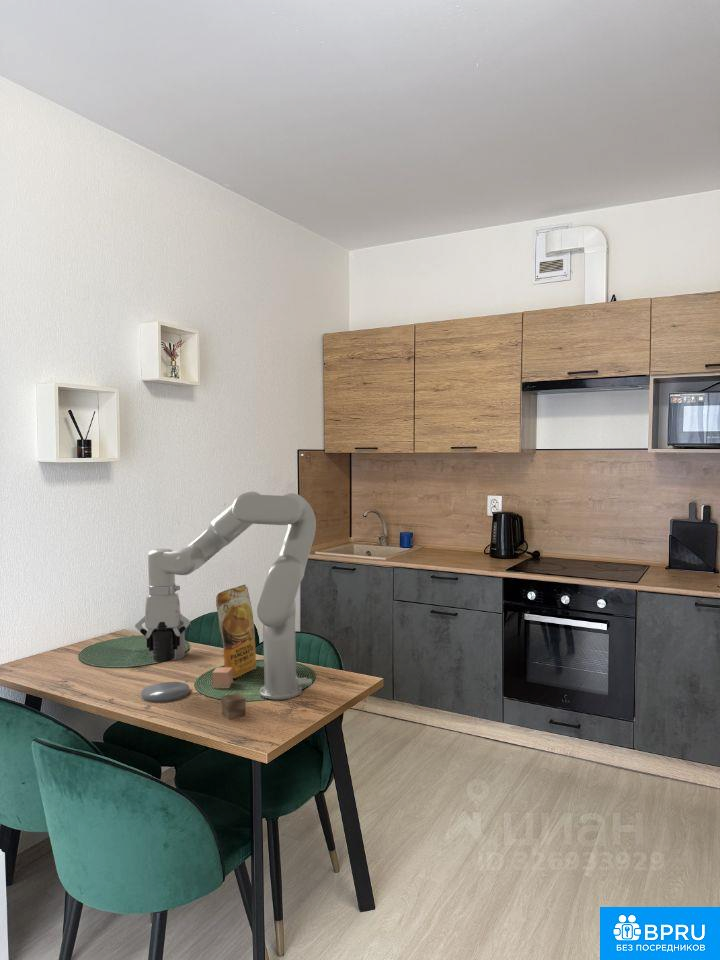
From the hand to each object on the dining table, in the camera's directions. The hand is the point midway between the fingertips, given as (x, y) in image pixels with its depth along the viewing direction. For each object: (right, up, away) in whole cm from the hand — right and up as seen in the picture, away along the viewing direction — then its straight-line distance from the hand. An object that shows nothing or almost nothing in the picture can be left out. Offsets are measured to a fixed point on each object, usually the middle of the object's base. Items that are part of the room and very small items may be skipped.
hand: (163, 648), depth 205 cm
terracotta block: (+16, -13, +7) cm, 22 cm away
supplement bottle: (0, -3, 0) cm, 3 cm away
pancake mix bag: (+19, -13, +19) cm, 30 cm away
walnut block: (+24, -14, -17) cm, 33 cm away
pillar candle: (-8, -13, +38) cm, 40 cm away
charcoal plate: (0, -14, +1) cm, 14 cm away
